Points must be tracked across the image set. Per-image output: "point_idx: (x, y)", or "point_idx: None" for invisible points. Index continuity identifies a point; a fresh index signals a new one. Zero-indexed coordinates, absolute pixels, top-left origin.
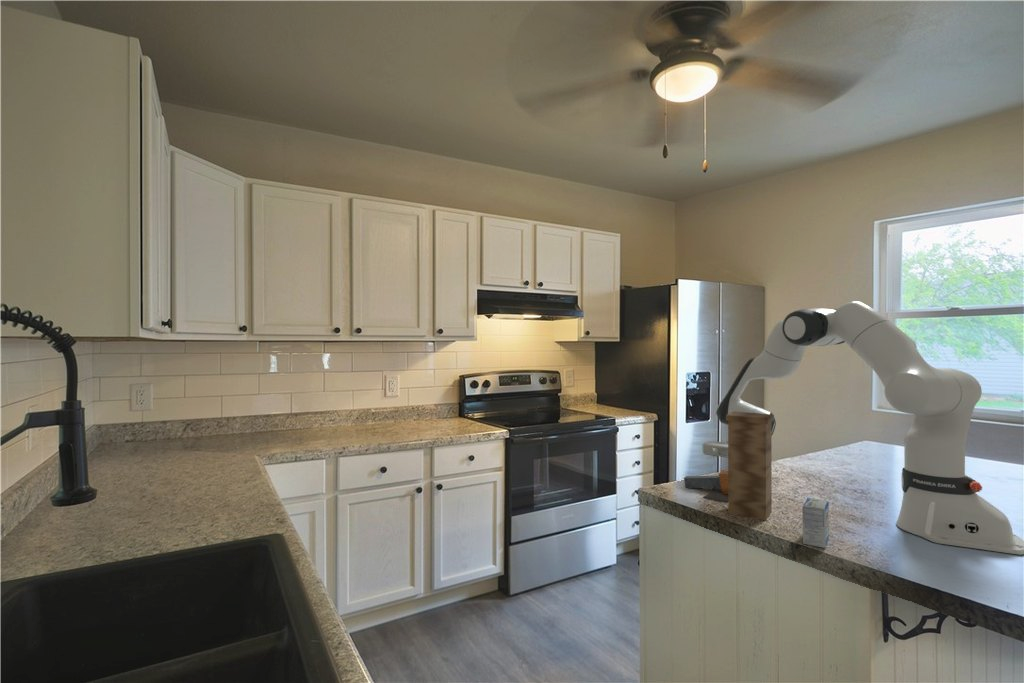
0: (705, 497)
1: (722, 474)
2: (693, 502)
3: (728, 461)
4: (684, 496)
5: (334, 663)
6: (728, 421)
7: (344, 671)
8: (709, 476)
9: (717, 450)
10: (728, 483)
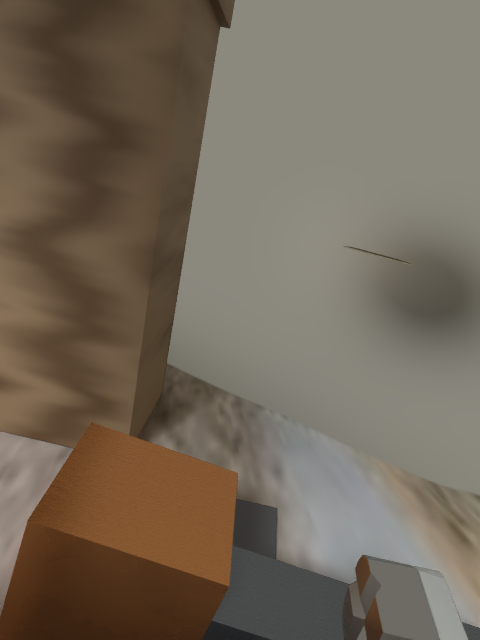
0: (266, 509)
1: (210, 468)
2: (293, 454)
3: (189, 213)
4: (357, 510)
5: (352, 248)
6: (218, 28)
7: (343, 246)
8: (318, 618)
9: (390, 603)
10: (176, 296)
